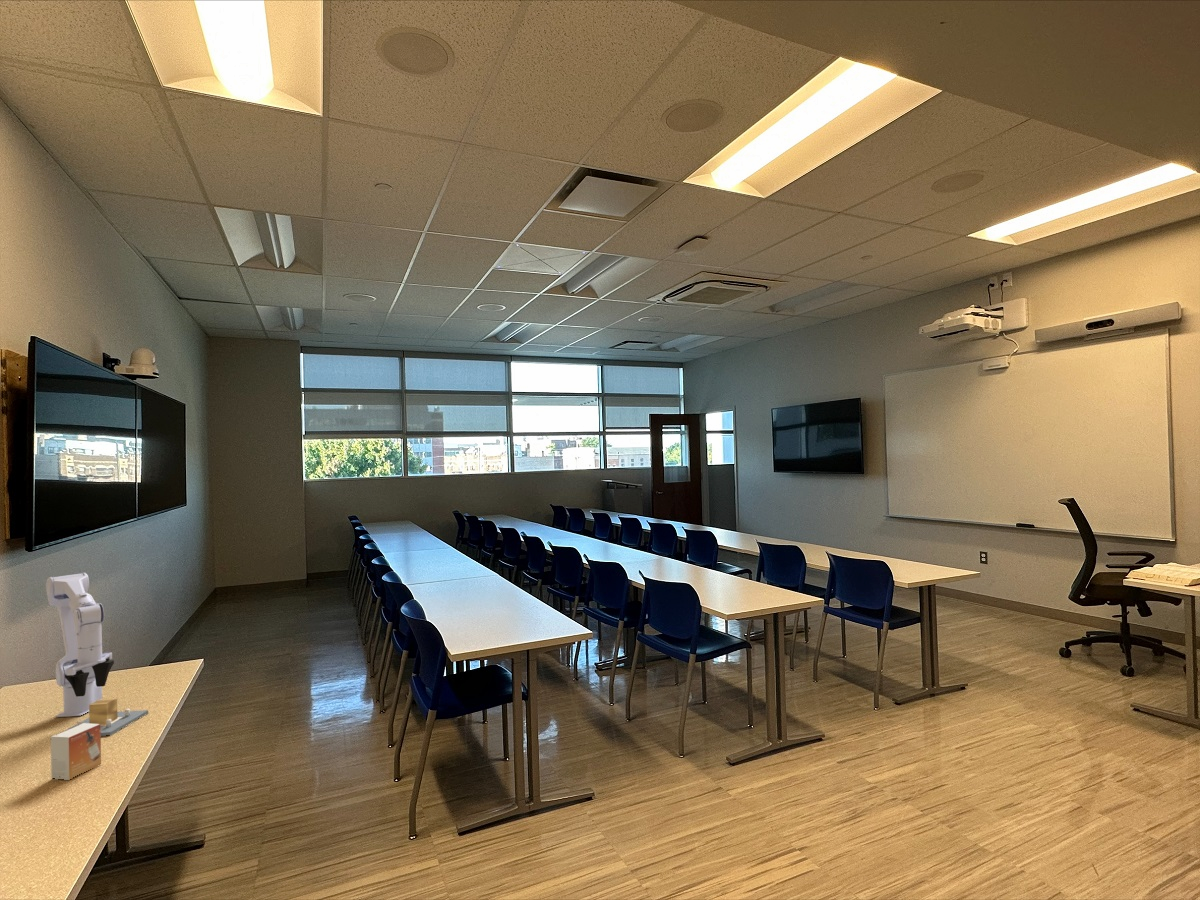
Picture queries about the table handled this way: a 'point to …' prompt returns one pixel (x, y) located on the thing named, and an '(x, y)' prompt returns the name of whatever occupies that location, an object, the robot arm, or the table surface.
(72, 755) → the small box
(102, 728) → the pin board
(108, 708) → the ochre block
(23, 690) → the table surface
